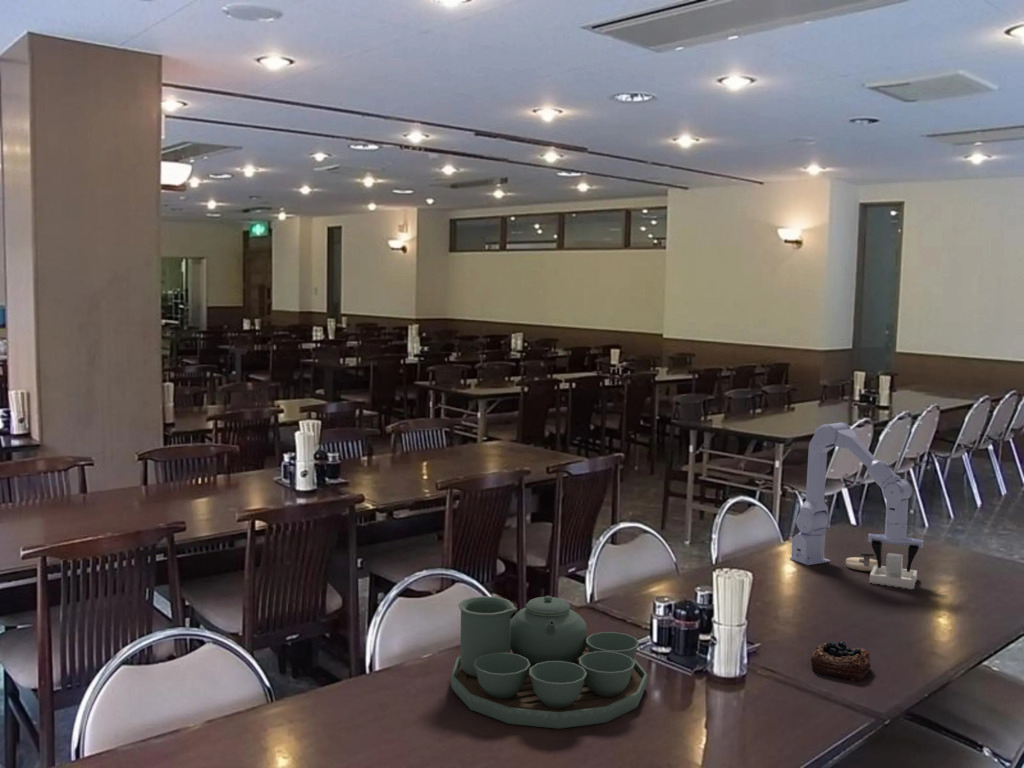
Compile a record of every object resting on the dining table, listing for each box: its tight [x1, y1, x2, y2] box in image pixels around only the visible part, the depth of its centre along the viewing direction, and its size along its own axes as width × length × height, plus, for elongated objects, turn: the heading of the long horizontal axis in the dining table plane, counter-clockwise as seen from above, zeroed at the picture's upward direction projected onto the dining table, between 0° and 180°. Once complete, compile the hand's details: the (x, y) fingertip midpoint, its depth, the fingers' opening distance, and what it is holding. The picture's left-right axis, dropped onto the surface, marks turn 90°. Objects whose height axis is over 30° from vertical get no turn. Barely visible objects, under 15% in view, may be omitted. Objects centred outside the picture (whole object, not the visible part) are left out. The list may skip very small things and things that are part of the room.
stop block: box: [885, 552, 904, 578], centre depth 264 cm, size 4×4×7 cm
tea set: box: [450, 595, 648, 730], centre depth 188 cm, size 40×40×16 cm
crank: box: [844, 551, 878, 572], centre depth 278 cm, size 10×10×5 cm
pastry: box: [810, 641, 871, 682], centre depth 199 cm, size 11×12×6 cm
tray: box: [869, 565, 918, 590], centre depth 264 cm, size 12×12×2 cm
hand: (893, 569), depth 264 cm, fingers open, 7 cm apart
